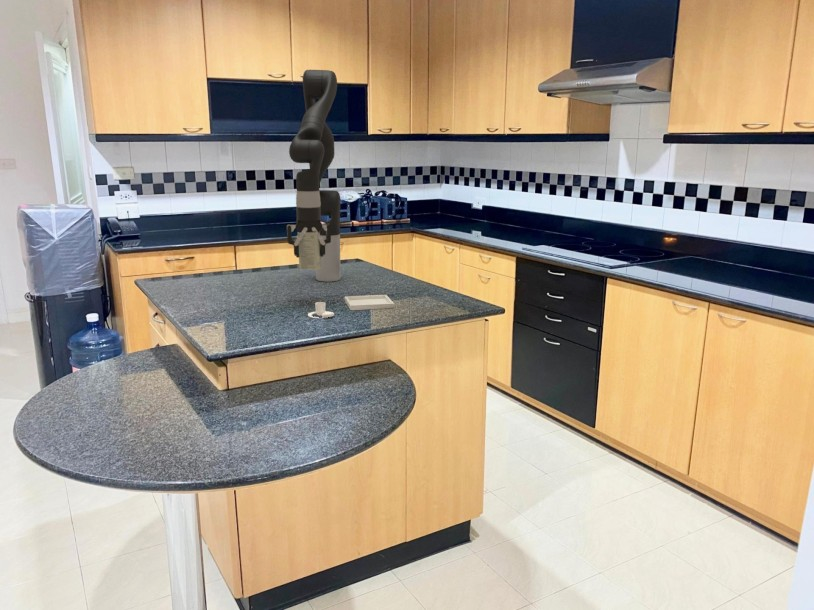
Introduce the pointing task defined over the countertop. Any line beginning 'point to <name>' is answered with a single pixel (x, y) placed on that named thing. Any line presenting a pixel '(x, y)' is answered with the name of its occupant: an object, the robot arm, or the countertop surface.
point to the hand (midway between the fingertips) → (309, 256)
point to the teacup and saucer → (321, 311)
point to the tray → (369, 302)
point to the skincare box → (309, 251)
